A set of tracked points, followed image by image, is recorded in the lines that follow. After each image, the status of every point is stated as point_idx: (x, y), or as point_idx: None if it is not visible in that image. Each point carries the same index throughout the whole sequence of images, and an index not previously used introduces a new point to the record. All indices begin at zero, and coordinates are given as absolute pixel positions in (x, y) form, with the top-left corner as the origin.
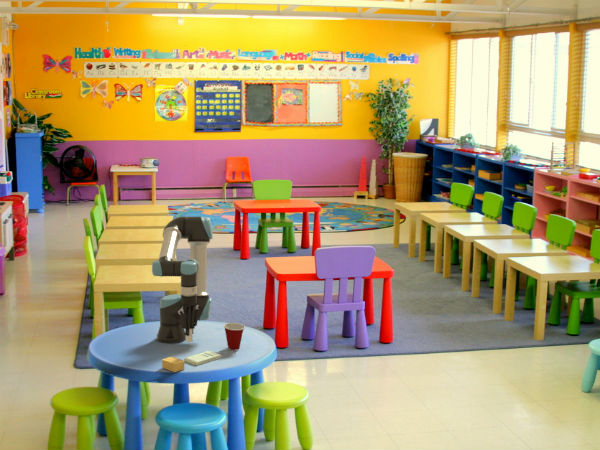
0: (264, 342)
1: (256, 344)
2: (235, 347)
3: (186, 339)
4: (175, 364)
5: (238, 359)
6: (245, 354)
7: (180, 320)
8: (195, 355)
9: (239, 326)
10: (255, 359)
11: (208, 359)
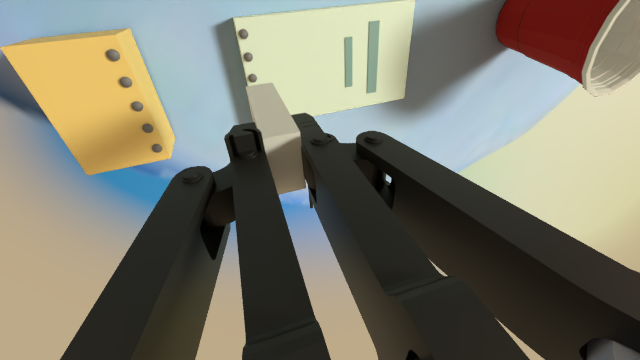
0: None
1: None
2: (508, 46)
3: (247, 91)
4: (98, 170)
5: (418, 147)
6: (471, 116)
7: (110, 295)
8: (315, 21)
9: None
10: None
11: (330, 111)
